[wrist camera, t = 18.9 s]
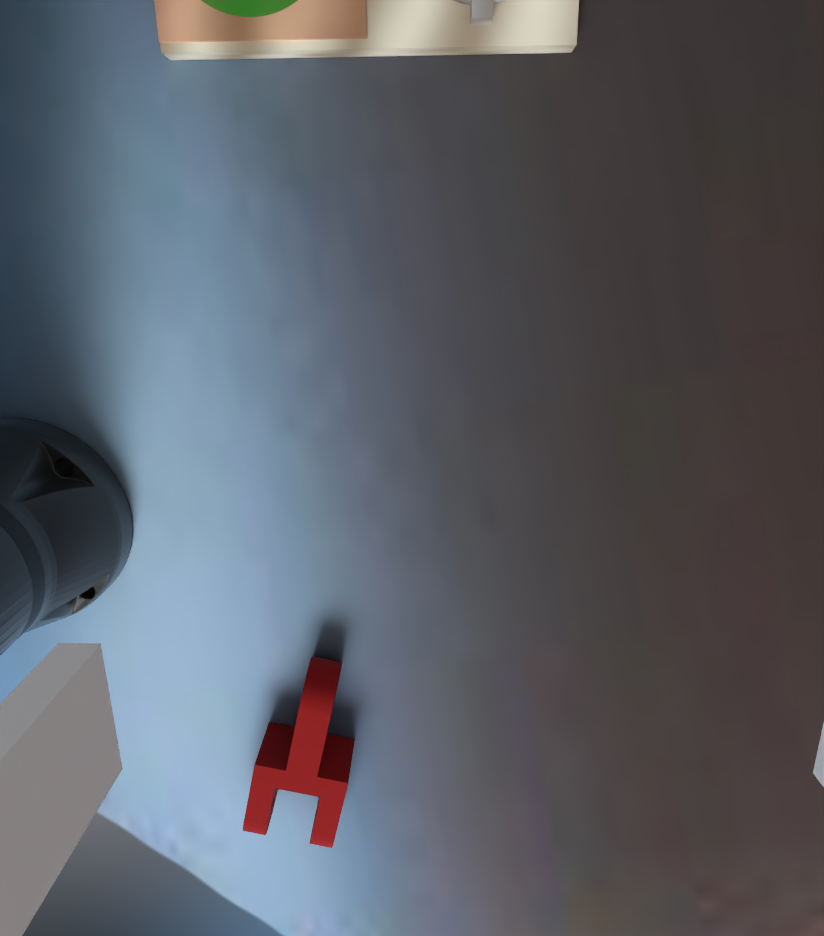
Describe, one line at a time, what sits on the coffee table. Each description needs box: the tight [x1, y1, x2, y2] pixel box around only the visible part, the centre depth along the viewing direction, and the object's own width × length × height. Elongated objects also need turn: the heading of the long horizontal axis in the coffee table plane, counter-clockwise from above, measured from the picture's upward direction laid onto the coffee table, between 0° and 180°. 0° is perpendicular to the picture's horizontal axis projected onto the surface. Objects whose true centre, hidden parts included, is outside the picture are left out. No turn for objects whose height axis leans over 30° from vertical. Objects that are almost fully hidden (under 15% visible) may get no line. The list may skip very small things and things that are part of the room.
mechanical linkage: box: [243, 656, 355, 848], centre depth 52 cm, size 16×7×5 cm, turn 167°
